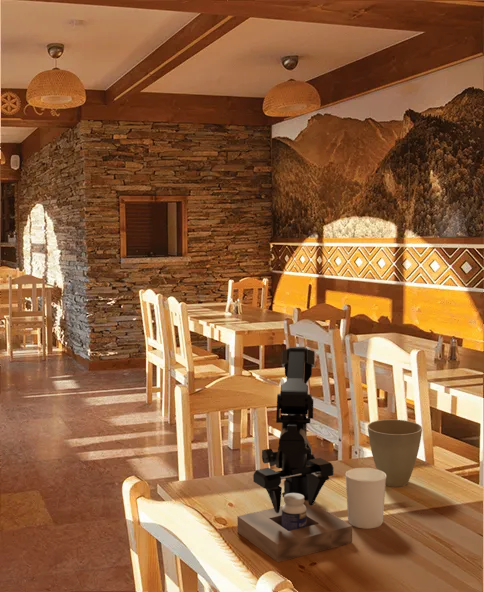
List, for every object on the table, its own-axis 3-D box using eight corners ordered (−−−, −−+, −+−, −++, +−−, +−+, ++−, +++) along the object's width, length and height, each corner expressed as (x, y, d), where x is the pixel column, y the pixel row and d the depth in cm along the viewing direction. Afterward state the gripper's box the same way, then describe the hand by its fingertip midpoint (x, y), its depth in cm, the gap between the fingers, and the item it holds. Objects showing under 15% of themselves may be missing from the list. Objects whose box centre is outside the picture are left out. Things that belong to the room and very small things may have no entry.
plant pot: (381, 469, 228) (381, 416, 226) (429, 479, 220) (430, 424, 218) (357, 484, 216) (357, 428, 214) (407, 495, 208) (408, 437, 206)
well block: (308, 515, 195) (308, 500, 194) (352, 542, 179) (352, 525, 178) (237, 532, 185) (237, 516, 184) (277, 562, 169) (277, 544, 169)
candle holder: (388, 516, 194) (389, 469, 192) (382, 532, 184) (383, 483, 183) (349, 512, 197) (349, 465, 196) (341, 527, 188) (341, 478, 186)
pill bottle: (304, 543, 179) (304, 501, 178) (279, 541, 180) (279, 499, 179) (307, 533, 184) (307, 492, 183) (283, 531, 185) (283, 490, 184)
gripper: (308, 428, 191) (308, 490, 193) (241, 440, 182) (241, 504, 184) (335, 440, 181) (334, 505, 183) (265, 453, 172) (266, 521, 174)
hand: (293, 508), depth 181 cm, fingers open, 9 cm apart
